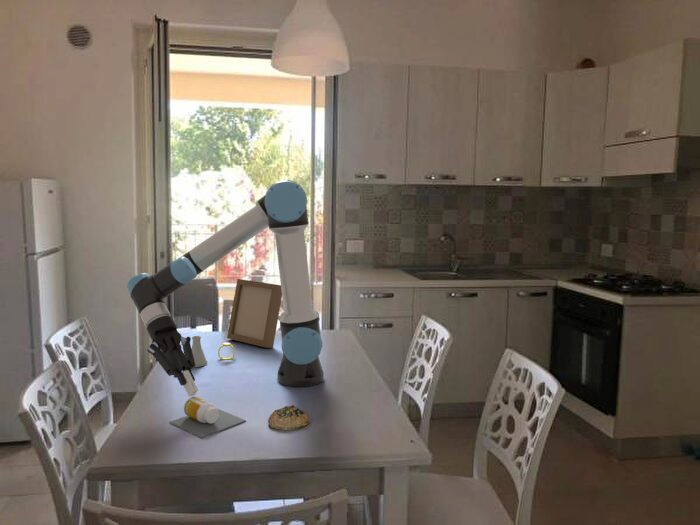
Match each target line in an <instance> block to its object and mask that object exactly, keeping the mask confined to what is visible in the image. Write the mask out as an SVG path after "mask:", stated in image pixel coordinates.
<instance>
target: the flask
mask: <svg viewBox="0 0 700 525" xmlns="http://www.w3.org/2000/svg"><path fill="white" fill-rule="evenodd" d="M201 338H202V336H201V335H193V336H191V340H192V344H191V349H192V353H193V357H194V361H195V366H194V368H197V367H200V368H201V367H203V366H206V365H207V364H208V360H207V358H206V355H205V352H204V350H203V348H202V344H201Z"/></svg>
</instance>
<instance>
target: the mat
mask: <svg viewBox="0 0 700 525" xmlns="http://www.w3.org/2000/svg"><path fill="white" fill-rule="evenodd" d="M215 408H216V409H217V410H218V411H219V417H218V419H217V420H216V421H215V422H214V423H201V422H199V421H197V420H195V419H193V418H191V417H189V416H187V415H185V416H182V417H180V418H176V419H174V420H171V421H169V424H170V423H171V425H173V426H175V427H177V428H178V429H181V430H183V429H184V431H185V430H186V432H187V431H188V432H187V433H189V432H190V433H189V434H191V433H192V435H193V436H196V437H198V438H200V439H205V438H207V437H210V436H213V435H215V434H217V432H218V433H220V432H223V431H225V430H229V429H230V427H231V428H233V427H235V426H238V425H241V424H243V423H245V422H247V420H246V419H244V418H242V417H239V416H236V415H235V414H232V413H229V412H227V411H224V410H222V409H219V408H217V407H215ZM222 430H223V431H222ZM214 433H215V434H214ZM212 434H213V435H212ZM209 435H210V436H209ZM204 437H205V438H204Z"/></svg>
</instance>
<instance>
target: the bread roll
mask: <svg viewBox="0 0 700 525" xmlns="http://www.w3.org/2000/svg"><path fill="white" fill-rule="evenodd" d="M267 423H268V426H269V427H270V428H271V427H272V428H271V429H273V428H276V429H281V430H280V431H289V430H288V429H295V430H297V429H296V428H298V429H300V428H301V427H302V428H303V427H305V425H306V426H307V425H308V424H309V423H310V420H309V417H308V414H307V413H306V412H305V411H304V410H303V409H300V408H299V406H295V405H294V404H291V405H290V406H287V405H285V406H284V407H282V408H279V409H275V410H274V411H273V412H272V413H271V414H270V415H269V417H268V422H267ZM299 427H300V428H299ZM276 429H275V430H276ZM286 429H287V430H286Z"/></svg>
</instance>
